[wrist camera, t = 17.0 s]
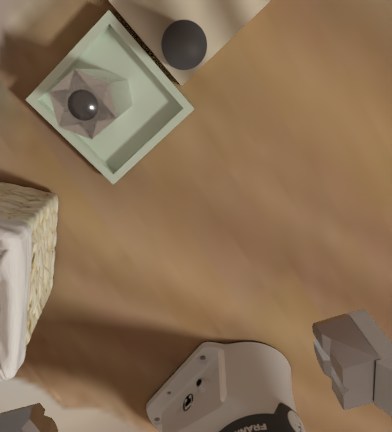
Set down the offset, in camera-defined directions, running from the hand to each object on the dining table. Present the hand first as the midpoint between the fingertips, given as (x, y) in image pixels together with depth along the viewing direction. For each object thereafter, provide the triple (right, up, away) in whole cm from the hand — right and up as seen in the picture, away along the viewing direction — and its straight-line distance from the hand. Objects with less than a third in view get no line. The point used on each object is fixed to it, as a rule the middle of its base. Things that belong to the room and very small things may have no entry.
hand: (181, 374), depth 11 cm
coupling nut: (-9, +17, +27) cm, 34 cm away
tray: (-8, +17, +28) cm, 34 cm away
